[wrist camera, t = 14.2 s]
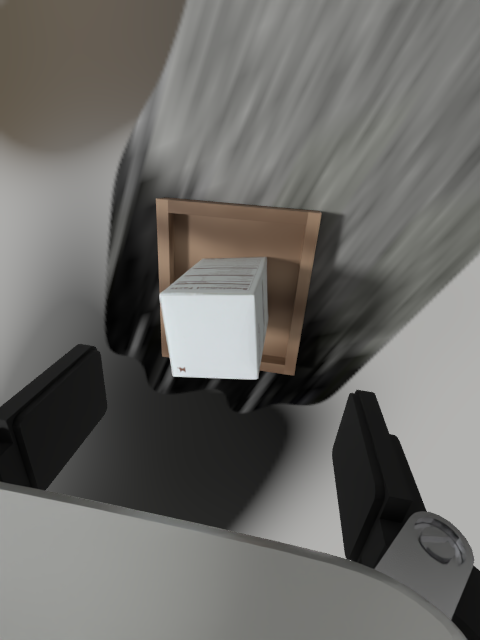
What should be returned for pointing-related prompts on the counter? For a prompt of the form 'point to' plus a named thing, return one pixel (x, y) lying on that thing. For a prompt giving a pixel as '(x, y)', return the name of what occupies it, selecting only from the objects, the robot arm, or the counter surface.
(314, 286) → the counter surface
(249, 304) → the supplement box
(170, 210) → the walnut tray
